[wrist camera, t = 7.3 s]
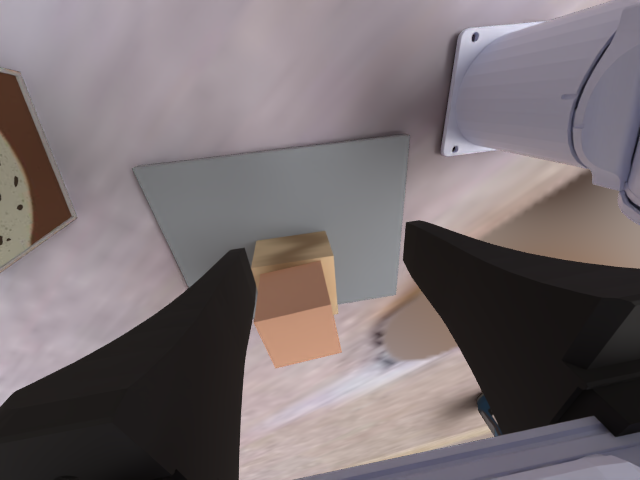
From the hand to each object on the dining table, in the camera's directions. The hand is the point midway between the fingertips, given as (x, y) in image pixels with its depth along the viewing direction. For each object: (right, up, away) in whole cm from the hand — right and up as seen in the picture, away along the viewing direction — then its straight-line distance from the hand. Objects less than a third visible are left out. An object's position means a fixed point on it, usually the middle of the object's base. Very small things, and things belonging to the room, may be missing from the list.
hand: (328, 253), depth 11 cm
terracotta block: (-2, -3, +8) cm, 9 cm away
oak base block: (-3, -1, +12) cm, 13 cm away
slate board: (-3, +1, +11) cm, 12 cm away
